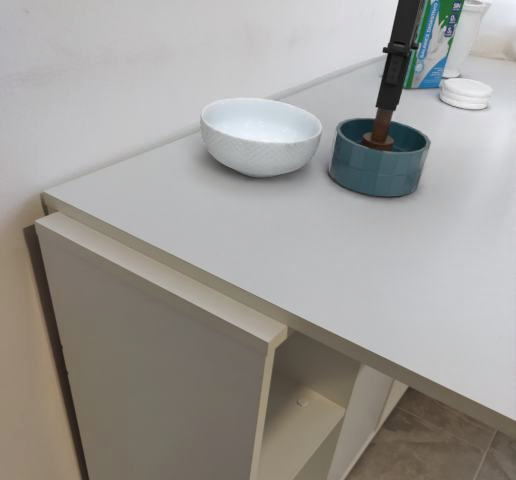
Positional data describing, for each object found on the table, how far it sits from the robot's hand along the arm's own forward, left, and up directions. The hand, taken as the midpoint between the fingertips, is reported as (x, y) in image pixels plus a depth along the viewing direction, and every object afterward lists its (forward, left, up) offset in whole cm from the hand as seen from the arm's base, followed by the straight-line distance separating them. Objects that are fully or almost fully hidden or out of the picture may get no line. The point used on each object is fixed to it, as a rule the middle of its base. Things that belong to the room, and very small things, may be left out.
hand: (387, 105), depth 72 cm
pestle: (0, 0, -8) cm, 8 cm away
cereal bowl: (+16, +5, -11) cm, 20 cm away
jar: (-5, -70, -11) cm, 71 cm away
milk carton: (+1, -57, -11) cm, 58 cm away
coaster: (-11, -49, -11) cm, 52 cm away
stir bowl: (0, 0, -10) cm, 10 cm away
